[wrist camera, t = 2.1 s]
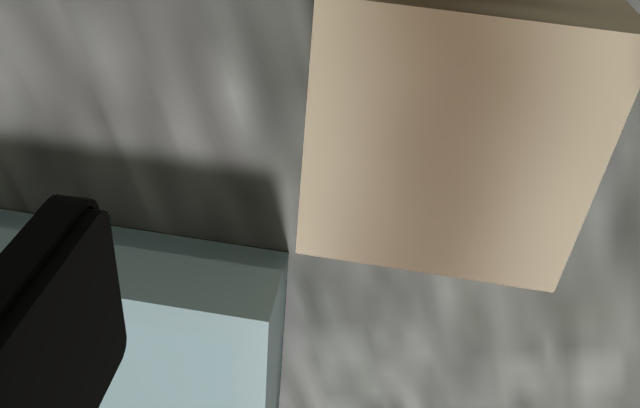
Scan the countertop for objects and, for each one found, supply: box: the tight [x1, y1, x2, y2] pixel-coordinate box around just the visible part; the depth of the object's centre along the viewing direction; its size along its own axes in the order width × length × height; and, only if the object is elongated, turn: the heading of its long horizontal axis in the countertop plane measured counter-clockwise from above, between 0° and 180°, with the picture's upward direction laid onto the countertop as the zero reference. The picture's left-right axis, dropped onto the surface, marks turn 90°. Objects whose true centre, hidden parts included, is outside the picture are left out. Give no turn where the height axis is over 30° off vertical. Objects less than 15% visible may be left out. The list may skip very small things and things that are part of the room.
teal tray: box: [0, 209, 289, 408], centre depth 26 cm, size 16×16×4 cm
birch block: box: [296, 0, 640, 293], centre depth 15 cm, size 6×6×6 cm
